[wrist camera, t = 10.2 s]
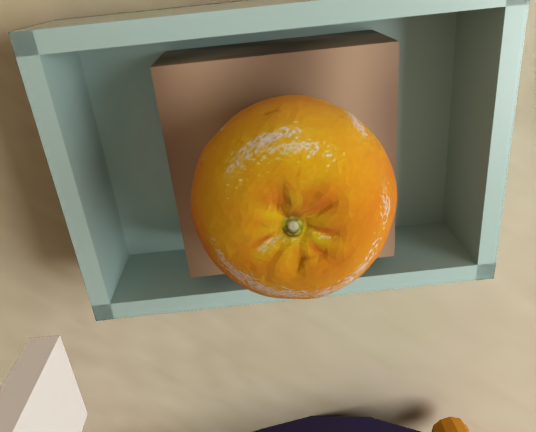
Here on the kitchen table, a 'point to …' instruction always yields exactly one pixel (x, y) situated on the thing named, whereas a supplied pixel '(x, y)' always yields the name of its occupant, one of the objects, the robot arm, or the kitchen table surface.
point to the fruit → (293, 197)
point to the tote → (261, 29)
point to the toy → (359, 425)
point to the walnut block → (264, 87)
